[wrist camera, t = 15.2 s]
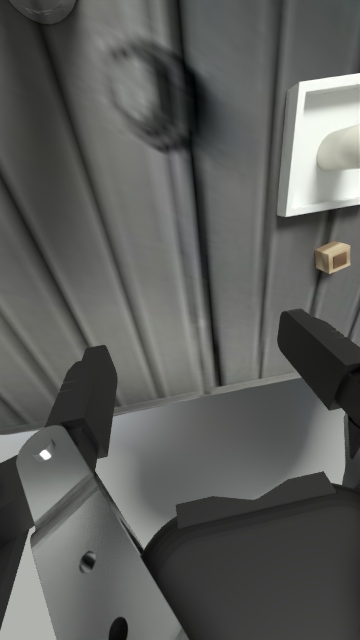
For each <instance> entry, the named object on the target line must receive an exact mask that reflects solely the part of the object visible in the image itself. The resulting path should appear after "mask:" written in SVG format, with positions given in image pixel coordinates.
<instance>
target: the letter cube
mask: <svg viewBox="0 0 360 640" xmlns="http://www.w3.org/2000/svg"><path fill="white" fill-rule="evenodd" d="M315 261H316V268H318V269H320V270H322V271H324V272H326V273H328V274H331V273H333V272H335V271H338V270H340V269H342V268H345V267H347V266H349V265H350V245H347V244H343V243H340V242H336V241H333V242H331V243H329V244H327V245H324V246H322V247H320V248H317V249H315Z"/></svg>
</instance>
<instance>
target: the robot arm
mask: <svg viewBox="0 0 360 640" xmlns="http://www.w3.org/2000/svg"><path fill="white" fill-rule="evenodd" d="M9 1H10V2H11V4H12V5H13V6H14V7H15V8H16V9H17V10H19V11H20V12H21V13H22V14H23V15H25V16H26V17H28V18H30V19H31V20H33V21H36V22H39V23H42V24H54V23H57V22H60V21H62V20H63V19H64V18H66V17H67V16H68V14H69V13H70V12H71V10H72V9H73V7H74V4H75V2H76V0H9ZM277 342H278V346H279V349H280V351H281V352H282V353H283V355H284V356H285V357H286V358H287V359H288V361H289V362H290V363H291V364H292V366H293V367H294V368H295V369H296V371H297V372H298V373H299V374H300V375H301V377H302V378H303V379H304V380H305V382H306V383H307V384H308V385H309V386H310V388H311V389H312V390H313V391H314V393H315V394H316V395H317V396H318V397H319V399H320V400H321V401H322V402H323V404H324V405H325V406H326V407H327V409H328V410H335V409H339V408H342V409H343V410H344V411H345V412H346V413H345V416H344V437H345V472H344V476H343V481H342V485H339V484H334V483H330V481H329V479H328V478H327V477H326V475H325V473H324V472H319V473H314V474H310V475H305V476H301V477H297V478H292V479H288V480H286V481H285V482H283V483H282V484H280V485H279V486H277V487H275V488H274V489H272V490H271V491H269V492H268V493H266V494H264V495H263V496H261V497H260V498H258V499H256V500H246V499H236V498H225V497H215V496H212V497H208V498H203V499H199V500H195V501H191V502H186V503H181V504H177V505H176V511H177V516H176V517H175V518H173V519H172V520H170V521H169V522H168V523H166V524H165V525H164V526H163V527H162V528H161V529H160V530H159V531H158V532H157V533H156V534H155V535H154V536H153V538H152V539H151V540H150V542H149V543H148V544H147V546H146V547H145V549H144V548H143V546H142V545H141V543H140V541H139V540H138V538H137V537H136V535H135V533H134V532H133V530H132V529H131V527H130V526H129V524H128V523H127V521H126V520H125V518H124V517H123V515H122V514H121V512H120V510H119V509H118V507H117V506H116V504H115V502H114V501H113V499H112V497H111V496H110V494H109V492H108V491H107V489H106V488H105V486H104V484H103V483H102V481H101V480H100V478H99V477H98V475H97V473H96V472H95V468H96V462H97V459H99V458H103V457H107V456H108V449H109V441H110V434H111V426H112V418H113V412H114V404H115V397H116V389H117V373H116V369H115V367H114V364H113V362H112V359H111V357H110V354H109V352H108V349H107V347H106V346H105V345H101V346H95V347H90V348H86V350H85V353H84V355H83V358H82V361H78V362H75V364H74V365H73V366H72V367H71V368H70V369H69V370H68V372H67V374H66V376H65V379H64V381H63V384H62V386H61V389H60V393H59V394H58V396H57V398H56V401H55V403H54V406H53V408H52V411H51V413H50V416H49V418H48V421H47V423H46V425H45V428H44V429H42V430H40V431H38V432H37V433H35V434H34V435H33V436H31V437H30V439H28V440H27V442H26V443H25V444H24V445H23V446H22V448H21V450H20V451H19V454H18V455H16V456H14V457H12V458H10V459H8V460H6V461H4V462H2V463H0V629H1V626H2V622H3V618H4V615H5V612H6V608H7V605H8V601H9V598H10V594H11V591H12V587H13V584H14V581H15V577H16V573H17V569H18V567H19V563H20V560H21V556H22V552H23V549H24V546H25V542H26V539H27V535H28V532H29V529H30V528H32V527H33V526H35V528H36V530H35V532H34V533H33V534H32V535H31V538H30V544H31V550H32V553H33V557H34V561H35V564H36V568H37V571H38V575H39V579H40V582H41V586H42V589H43V593H44V596H45V600H46V603H47V607H48V611H49V614H50V618H51V622H52V625H53V629H54V632H55V636H56V639H57V640H360V347H359V346H357V345H356V344H355V343H353V342H352V341H351V340H349V339H348V338H347V337H344V335H343V334H341V333H340V332H339V331H336V329H335V328H334V327H332V326H331V325H330V324H328V323H327V322H325V321H322V320H320V319H318V318H315V317H311V316H310V315H309V314H308V313H306V312H305V311H304V310H302V309H294V310H289V311H284V312H282V313H281V316H280V323H279V330H278V338H277Z"/></svg>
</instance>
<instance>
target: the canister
mask: <svg viewBox="0 0 360 640" xmlns="http://www.w3.org/2000/svg"><path fill="white" fill-rule="evenodd" d="M317 164H318V167H319V168H320V169H321V170H322V171H325V172H330V171H341V170H352V169H360V124H356V125H353V126H350V127H346V128H343V129H340V130H337V131H333V132H331V133H330V134H328V135H327V136H326V137H325V138H324V139H323V141H322V142H321V144H320V146H319V148H318V151H317Z"/></svg>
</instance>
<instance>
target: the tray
mask: <svg viewBox="0 0 360 640" xmlns="http://www.w3.org/2000/svg"><path fill="white" fill-rule="evenodd" d="M356 124H360V73H359V74H352V75H345V76H338V77H331V78H324V79H318V80H311V81H304V82H299V83H298V84H296V85H295V86H293V87H292V88H290V89H289V90H287V96H286V108H285V120H284V132H283V144H282V156H281V168H280V180H279V192H278V204H277V215H278V216H283V217H289V216H294V215H300V214H306V213H312V212H318V211H323V210H329V209H335V208H341V207H346V206H352V205H358V204H360V169H352V170H341V171H330V172H325V171H322V170H321V169H320V168H319V167H318V164H317V151H318V148H319V146H320V144H321V142H322V141H323V139H324V138H325V137H326V136H327V135H328V134H330V133H331V132H333V131H337V130H340V129H343V128H346V127H350V126H353V125H356Z"/></svg>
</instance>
